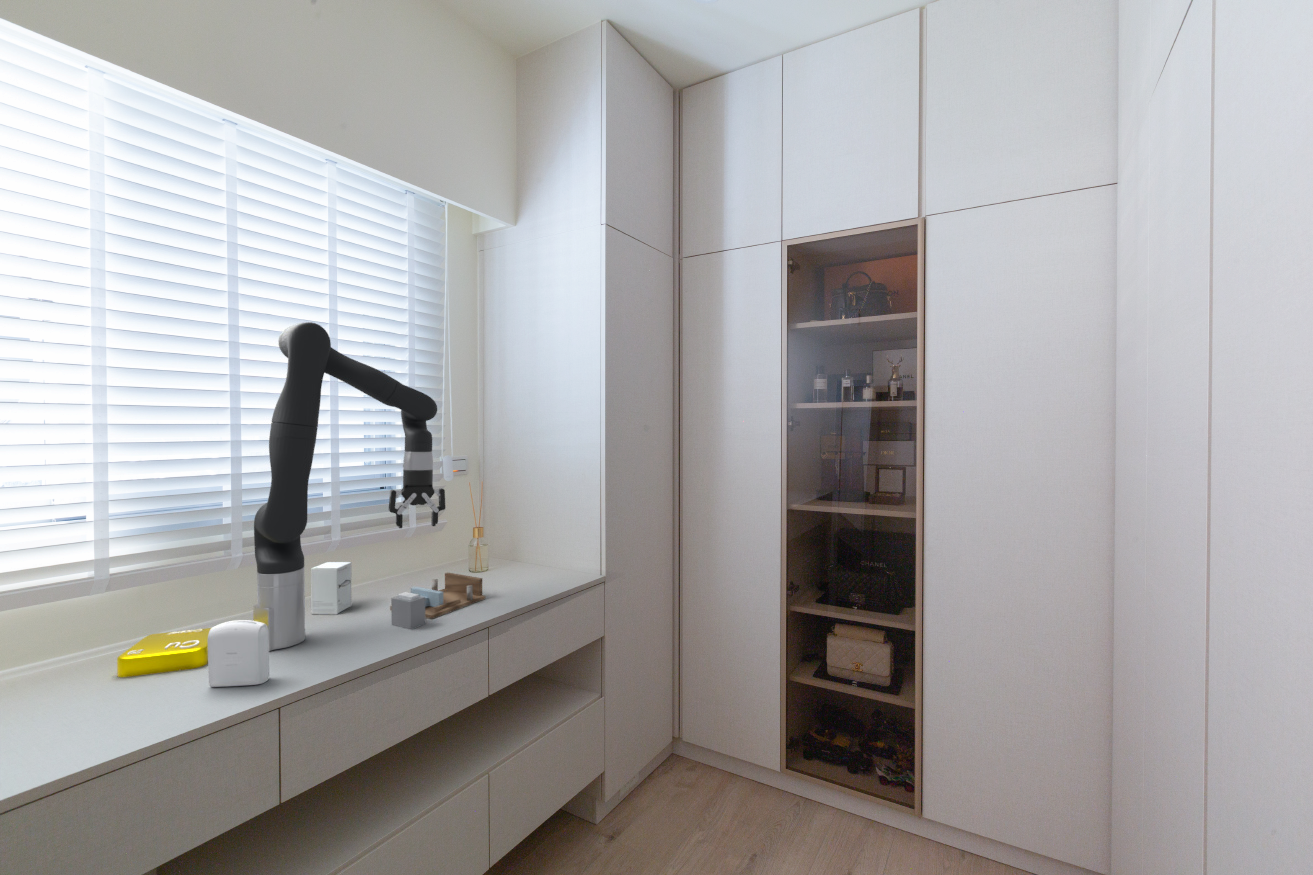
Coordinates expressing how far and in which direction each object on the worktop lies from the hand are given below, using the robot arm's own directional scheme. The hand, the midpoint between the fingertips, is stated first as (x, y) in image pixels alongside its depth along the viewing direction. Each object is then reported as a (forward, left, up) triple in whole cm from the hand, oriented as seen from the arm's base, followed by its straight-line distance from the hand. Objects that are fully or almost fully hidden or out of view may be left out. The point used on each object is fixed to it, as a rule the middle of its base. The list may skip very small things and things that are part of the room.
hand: (417, 526), depth 156 cm
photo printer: (-47, -5, -23) cm, 53 cm away
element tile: (-47, +20, -24) cm, 56 cm away
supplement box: (-11, +21, -23) cm, 33 cm away
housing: (+7, -1, -23) cm, 24 cm away
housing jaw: (0, -1, -22) cm, 22 cm away
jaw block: (-9, -7, -23) cm, 26 cm away
